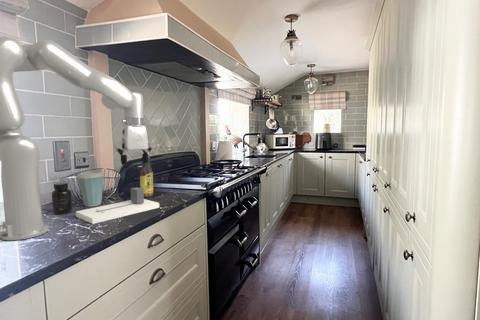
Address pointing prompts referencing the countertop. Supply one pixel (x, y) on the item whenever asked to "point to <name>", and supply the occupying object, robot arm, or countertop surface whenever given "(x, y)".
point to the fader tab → (137, 195)
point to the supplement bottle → (61, 199)
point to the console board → (115, 211)
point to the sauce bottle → (146, 179)
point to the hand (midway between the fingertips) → (135, 163)
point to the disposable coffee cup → (91, 187)
